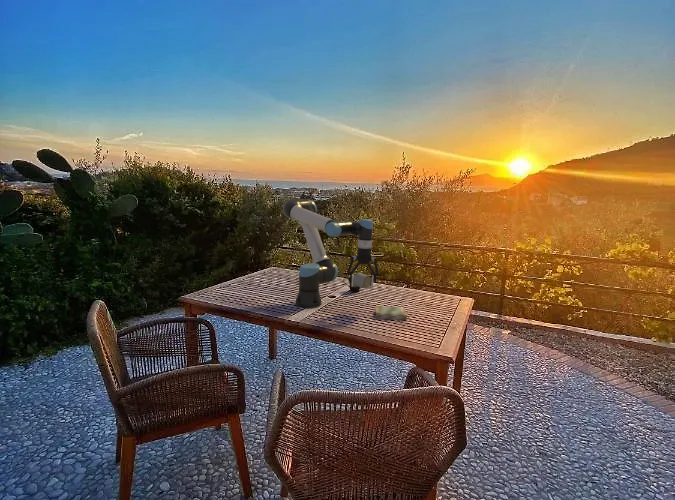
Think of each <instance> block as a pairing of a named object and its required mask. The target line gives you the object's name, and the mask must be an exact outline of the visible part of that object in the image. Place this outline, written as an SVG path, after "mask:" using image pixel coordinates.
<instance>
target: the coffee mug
mask: <svg viewBox="0 0 675 500" xmlns="http://www.w3.org/2000/svg"><path fill="white" fill-rule="evenodd" d="M354 276H355V274H354ZM345 280H348V282H349V283H348V284H347V283H346V281H345ZM342 281H343V283H344V284H345V285H346V286H348V288H349V292H351V293H360V291H361V287H358V286H355V285H354V283H353V287H351V286H352V280H350V275H348V277H345V278H343V280H342Z"/></svg>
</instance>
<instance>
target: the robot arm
mask: <svg viewBox="0 0 675 500" xmlns="http://www.w3.org/2000/svg"><path fill="white" fill-rule="evenodd" d="M317 211H318V207H317V205H316V203H315V202H314V201H313V200H311V199H308V198H307V199H306V198H292V199H291V198H290V199H288V200H286V201H285V202H284V203H283V206H282V212H283V215H284V216H285V217H286V218H288V219H290V220H292V221H297V223H298V224H299V225H301V227H302V228H301V229H302V231H303V234H304V237H305V239H306V243H307V246H308V249H309V253H310V255H311V259H312V262H310V263H309V262H308V263H304V264H302V265H300V266H299V270H298V271H299V272H298V292H297V295H296V298H295V306H296V307H298V308H305V309H314V308H313V307H315V308H319V307H320V305H321V306H322V301H323V300H322V298H321V297H322V296H321V294H320V285H323V284H329V283H331V282H334V281H335V280H336V279H337V277H338V274H339V269H338V266H337V264H335V263H334V262H332V261H331V258H330V257H329V256H328V255H327V253H326V250H325V247H324V244H323V241H322V238H321V235H320V232H319V230H320V231H321V232H325V234H327V236H328V237H333V238H335V237H341V236H342V237H343V236H349V235H350V236H351V235H352V236H358V237H357V238H358V240H357V252H356V253H357V254H356V256H355V255H352V256H351V258H350V259H351V261H350V262H349V265H348V268H347V271H346V274H348V275H349V276H350V280H352V286H351V287H353V278H354V275H355V271H356V270H357V268H358V267H359V266H360V265H367V266H368V268H369V269H370V270H369V271H370V272H371V273H372V275H371V280H372V282H371V283H372V286H370V287H371V289H373V287H374V283H375V282H376V278H377V276H380V272H379V269H378V264H377V257H372V244H373V231H374V221H373V220H372V219H370V218H359V221H353V220H343V221H336V220H334V219H331V218H329V217H326V216H323V215H322V214H319V213H317ZM356 260H357V262H356V264H355V265H354V267H353V268H352V266H353V264H354V261H356ZM371 261H372V262H373V264H374V268H375V269H374V268H373V267H372V265H371ZM318 306H319V307H318ZM311 307H312V308H311Z"/></svg>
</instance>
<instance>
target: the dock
mask: <svg viewBox="0 0 675 500" xmlns="http://www.w3.org/2000/svg"><path fill="white" fill-rule="evenodd" d="M375 318H376V319H382V320H396V321H407V320H408V314H407V311H406V308H405V307H398V306H396V307H395V306H394V307H393V306H380V305H376V306H375Z"/></svg>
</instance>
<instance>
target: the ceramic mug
mask: <svg viewBox="0 0 675 500" xmlns="http://www.w3.org/2000/svg"><path fill="white" fill-rule="evenodd" d="M354 275H355V276H354V278H353V283H354V285H355V286H358V287H360V288H362V289H368V288H369V287H371V286H372V276H369V275H367V274H366V273H362V272H356V273H354Z"/></svg>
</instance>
